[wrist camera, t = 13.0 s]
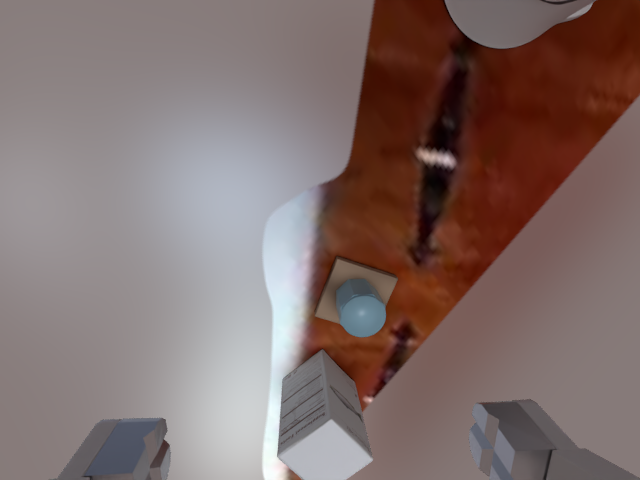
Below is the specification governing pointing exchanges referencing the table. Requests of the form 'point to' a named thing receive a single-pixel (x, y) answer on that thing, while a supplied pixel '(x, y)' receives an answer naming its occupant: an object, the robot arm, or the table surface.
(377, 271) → the post base
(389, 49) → the table surface
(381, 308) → the teal cap
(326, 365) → the supplement box
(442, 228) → the table surface
